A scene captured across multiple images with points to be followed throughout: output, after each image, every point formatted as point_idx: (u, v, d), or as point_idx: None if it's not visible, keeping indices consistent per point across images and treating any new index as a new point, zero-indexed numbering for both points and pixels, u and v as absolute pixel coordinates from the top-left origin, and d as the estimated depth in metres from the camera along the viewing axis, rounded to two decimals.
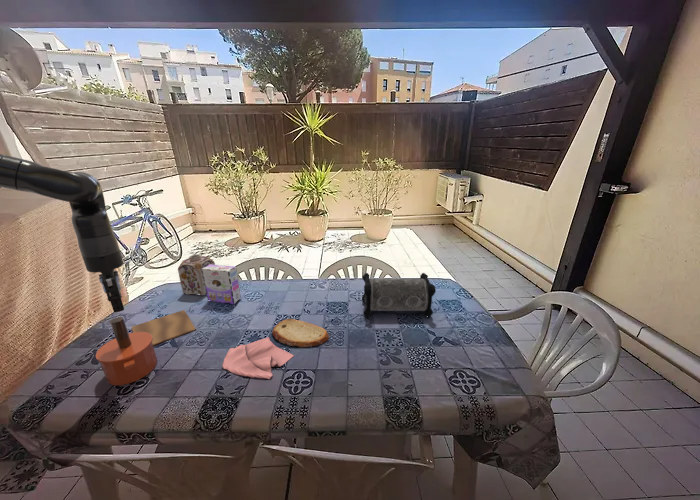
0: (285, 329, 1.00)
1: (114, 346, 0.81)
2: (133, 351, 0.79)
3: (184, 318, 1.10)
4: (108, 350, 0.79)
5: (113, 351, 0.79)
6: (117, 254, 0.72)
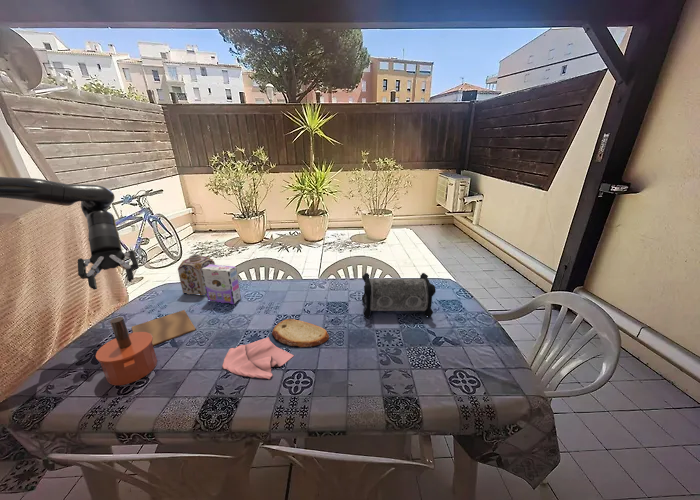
0: (285, 329, 1.00)
1: (114, 346, 0.81)
2: (133, 351, 0.79)
3: (184, 318, 1.10)
4: (108, 350, 0.79)
5: (113, 351, 0.79)
6: (93, 240, 0.85)
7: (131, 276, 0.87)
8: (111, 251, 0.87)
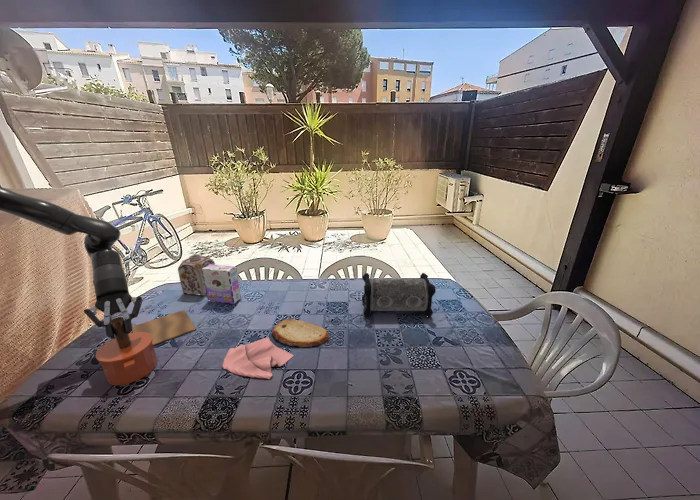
0: (285, 329, 1.00)
1: (114, 346, 0.81)
2: (133, 351, 0.79)
3: (184, 318, 1.10)
4: (108, 350, 0.79)
5: (113, 351, 0.79)
6: (99, 283, 0.79)
7: (130, 327, 0.79)
8: (117, 294, 0.81)
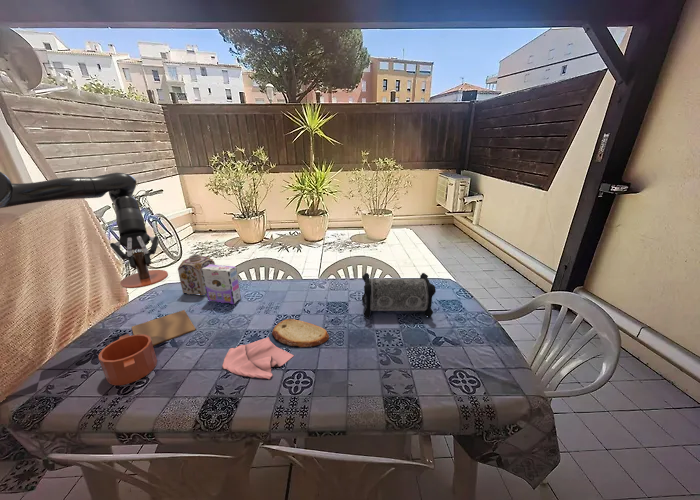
0: (285, 329, 1.00)
1: (135, 278, 0.93)
2: (152, 281, 0.91)
3: (184, 318, 1.10)
4: (130, 280, 0.91)
5: (135, 281, 0.91)
6: (122, 222, 0.91)
7: (149, 260, 0.92)
8: (137, 233, 0.94)
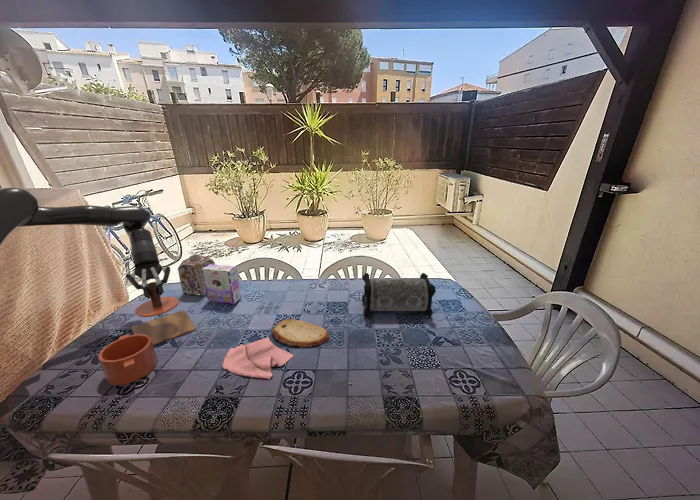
0: (285, 329, 1.00)
1: (148, 306, 1.00)
2: (164, 309, 0.98)
3: (184, 318, 1.10)
4: (144, 308, 0.98)
5: (148, 309, 0.98)
6: (137, 254, 0.98)
7: (162, 290, 0.99)
8: (151, 264, 1.01)
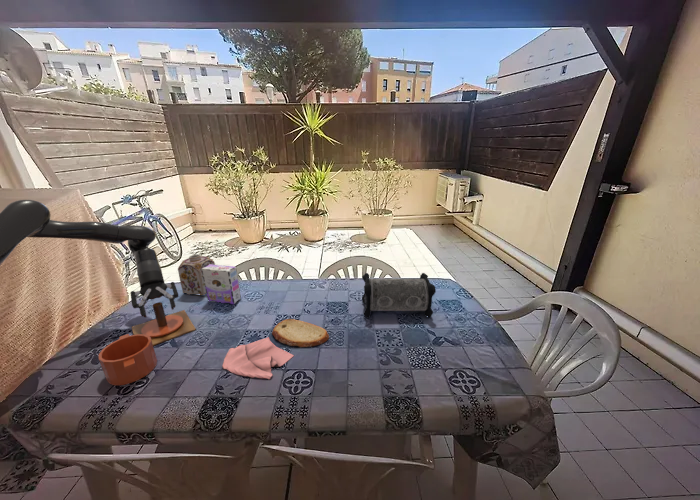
0: (285, 329, 1.00)
1: (154, 325, 1.03)
2: (169, 329, 1.01)
3: (184, 318, 1.10)
4: (150, 328, 1.01)
5: (154, 329, 1.01)
6: (142, 274, 1.01)
7: (173, 304, 1.03)
8: (156, 284, 1.03)
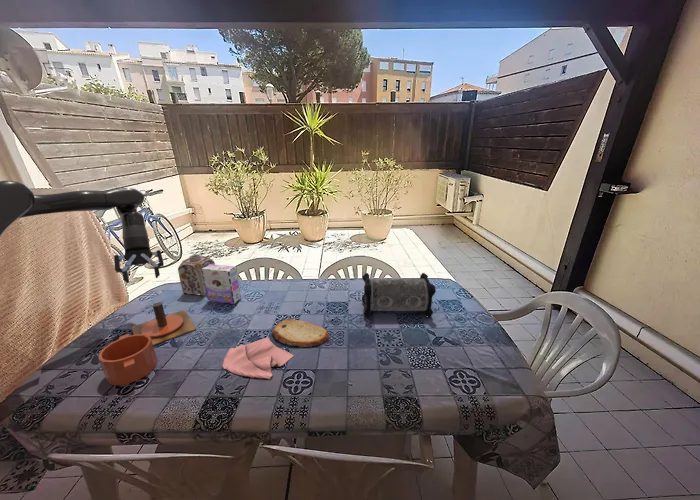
0: (285, 329, 1.00)
1: (154, 325, 1.03)
2: (169, 329, 1.01)
3: (184, 318, 1.10)
4: (150, 328, 1.01)
5: (154, 329, 1.01)
6: (128, 239, 0.99)
7: (158, 273, 1.02)
8: (141, 250, 1.01)
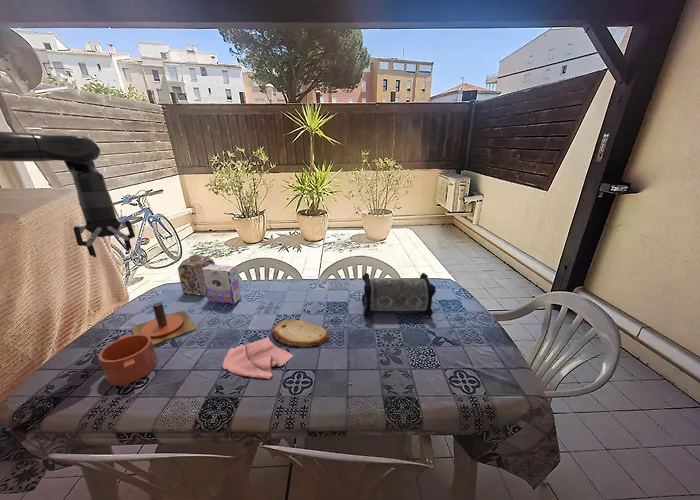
0: (285, 329, 1.00)
1: (154, 325, 1.03)
2: (169, 329, 1.01)
3: (184, 318, 1.10)
4: (150, 328, 1.01)
5: (154, 329, 1.01)
6: (89, 210, 0.82)
7: (130, 247, 0.92)
8: (107, 221, 0.86)
